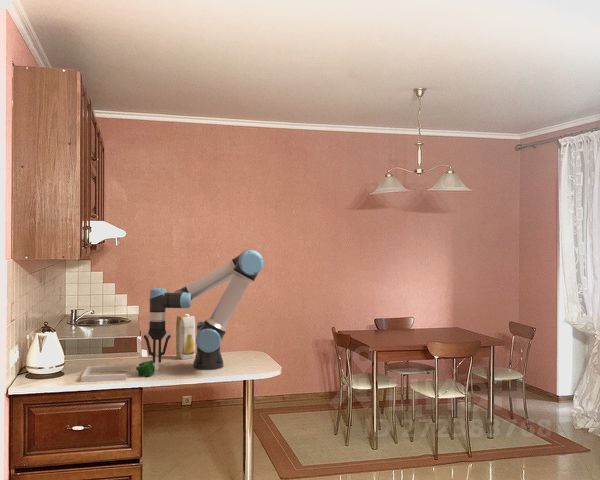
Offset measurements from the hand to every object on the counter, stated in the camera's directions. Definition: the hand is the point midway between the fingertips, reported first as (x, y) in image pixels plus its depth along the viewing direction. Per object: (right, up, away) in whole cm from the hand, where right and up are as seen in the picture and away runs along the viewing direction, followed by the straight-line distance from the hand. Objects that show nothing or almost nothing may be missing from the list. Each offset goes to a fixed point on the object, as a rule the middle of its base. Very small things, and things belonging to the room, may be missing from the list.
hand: (156, 369), depth 298 cm
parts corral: (-23, -2, -4) cm, 23 cm away
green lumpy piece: (-5, -3, -1) cm, 6 cm away
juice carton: (+7, -2, +38) cm, 39 cm away
